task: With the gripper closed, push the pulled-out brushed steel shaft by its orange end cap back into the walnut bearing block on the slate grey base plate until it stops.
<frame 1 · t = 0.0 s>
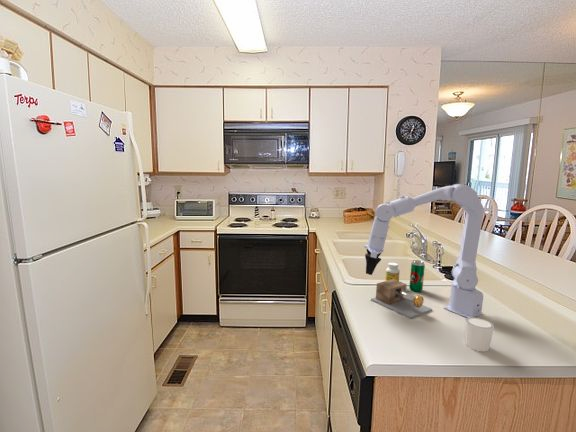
hand: (369, 270, 119), 11 cm above the countertop, tool pointing down, fingers open, 7 cm apart
white cup: (476, 346, 89), on the countertop
shaft: (407, 296, 112), point 4 cm above the countertop, slide at 7.0 cm
bearing block: (390, 300, 118), resting on base plate
soda can: (415, 290, 130), on the countertop
base plate: (400, 305, 115), on the countertop
supplement bottle: (391, 286, 134), on the countertop
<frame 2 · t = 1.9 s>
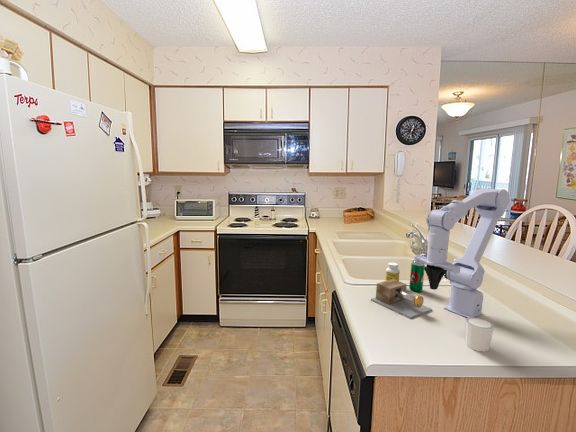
hand: (433, 288, 103), 10 cm above the countertop, tool pointing down, fingers closed
nothing on the countertop moved.
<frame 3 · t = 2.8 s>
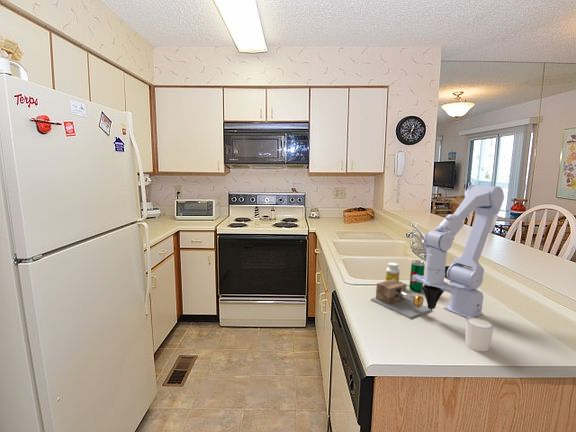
hand: (431, 308, 104), 4 cm above the countertop, tool pointing down, fingers closed
nothing on the countertop moved.
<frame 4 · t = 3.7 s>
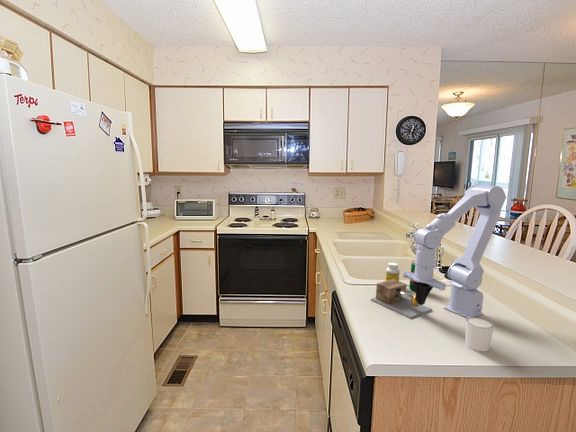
hand: (421, 303, 107), 4 cm above the countertop, tool pointing down, fingers closed
shaft: (405, 295, 113), point 4 cm above the countertop, slide at 6.1 cm, touching gripper
everything else where it was.
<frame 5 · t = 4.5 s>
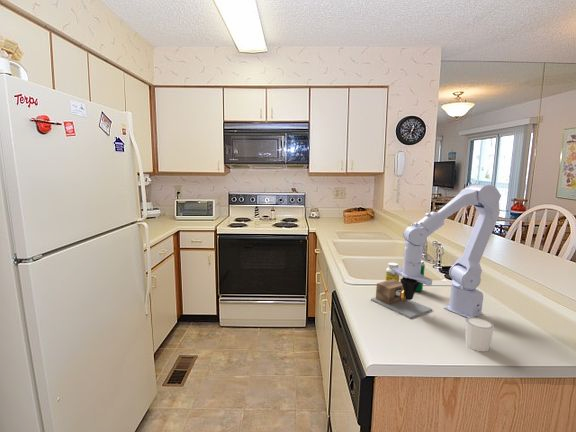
hand: (409, 298, 111), 4 cm above the countertop, tool pointing down, fingers closed
shaft: (394, 291, 117), point 4 cm above the countertop, slide at 1.4 cm, touching gripper
everything else where it was.
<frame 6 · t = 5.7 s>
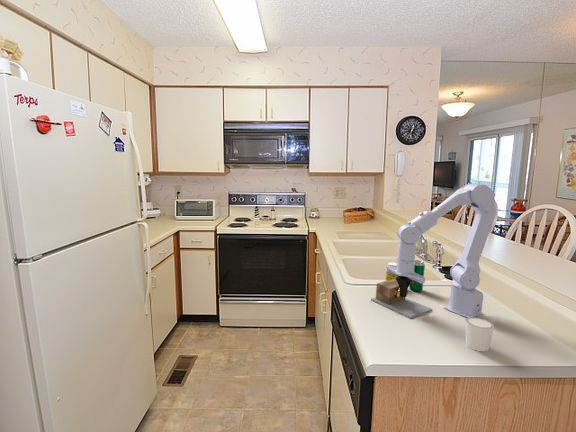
hand: (403, 296, 113), 4 cm above the countertop, tool pointing down, fingers closed, pressing on shaft
shaft: (390, 289, 118), point 4 cm above the countertop, slide at -0.3 cm, touching gripper
everything else where it was.
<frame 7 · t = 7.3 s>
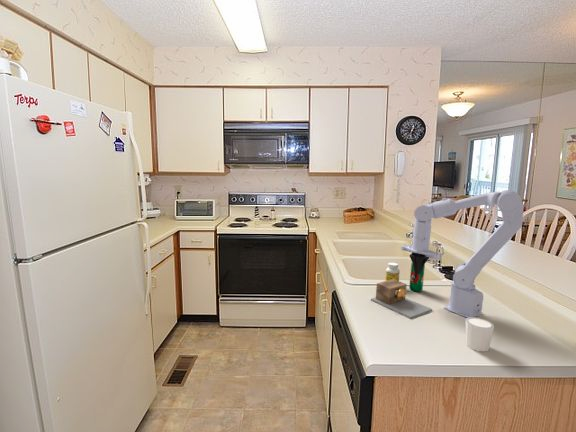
hand: (417, 273, 118), 10 cm above the countertop, tool pointing down, fingers closed
shaft: (391, 290, 118), point 4 cm above the countertop, slide at 0.0 cm
everything else where it was.
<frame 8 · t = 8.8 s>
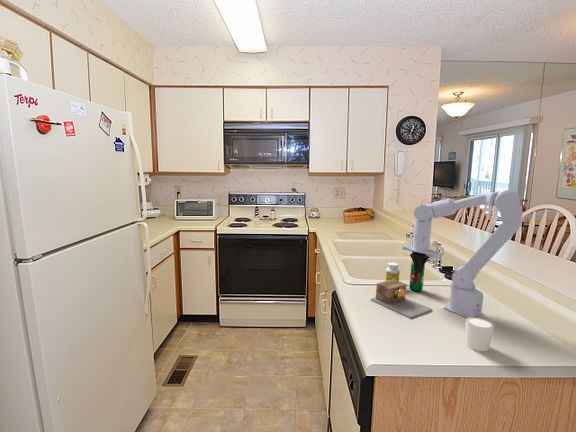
hand: (418, 272, 119), 10 cm above the countertop, tool pointing down, fingers closed
nothing on the countertop moved.
at the end: shaft slide at 0.0 cm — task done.
